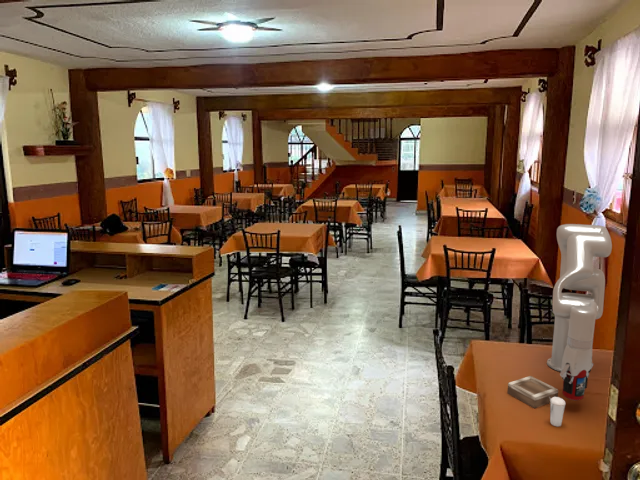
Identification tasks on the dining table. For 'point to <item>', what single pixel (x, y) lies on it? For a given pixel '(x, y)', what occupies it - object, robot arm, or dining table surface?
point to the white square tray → (532, 391)
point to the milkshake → (556, 411)
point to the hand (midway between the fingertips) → (574, 389)
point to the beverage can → (577, 386)
